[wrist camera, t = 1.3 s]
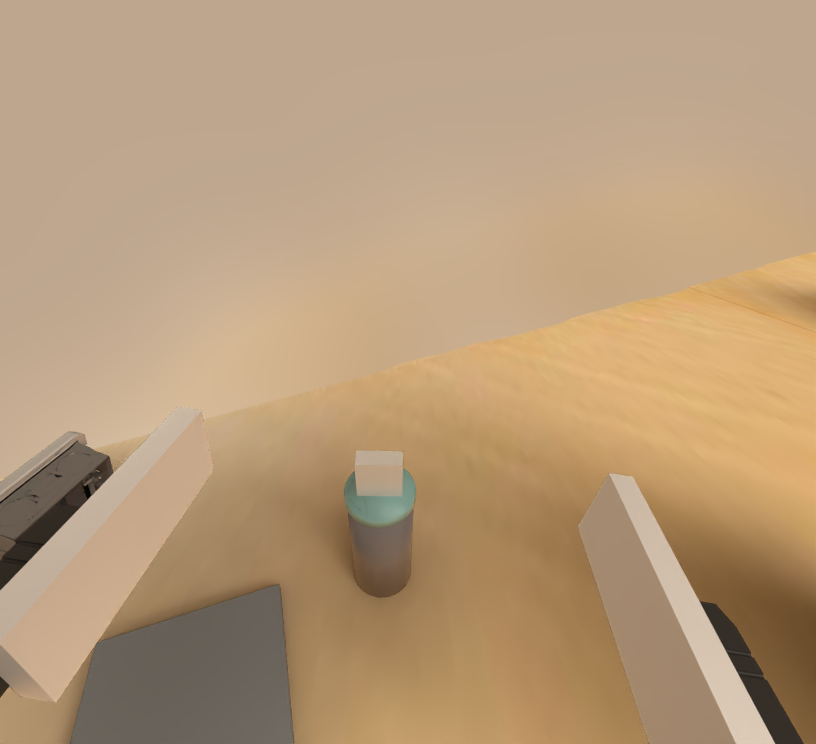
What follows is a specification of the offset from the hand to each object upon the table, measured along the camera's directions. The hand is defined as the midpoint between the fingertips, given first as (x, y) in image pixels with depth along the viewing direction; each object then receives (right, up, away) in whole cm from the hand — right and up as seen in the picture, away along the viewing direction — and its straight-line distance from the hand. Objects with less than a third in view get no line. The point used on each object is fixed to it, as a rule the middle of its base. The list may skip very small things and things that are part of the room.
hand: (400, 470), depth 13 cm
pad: (-13, -18, +11) cm, 25 cm away
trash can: (-2, -13, +19) cm, 23 cm away
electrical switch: (-28, -11, +21) cm, 37 cm away
